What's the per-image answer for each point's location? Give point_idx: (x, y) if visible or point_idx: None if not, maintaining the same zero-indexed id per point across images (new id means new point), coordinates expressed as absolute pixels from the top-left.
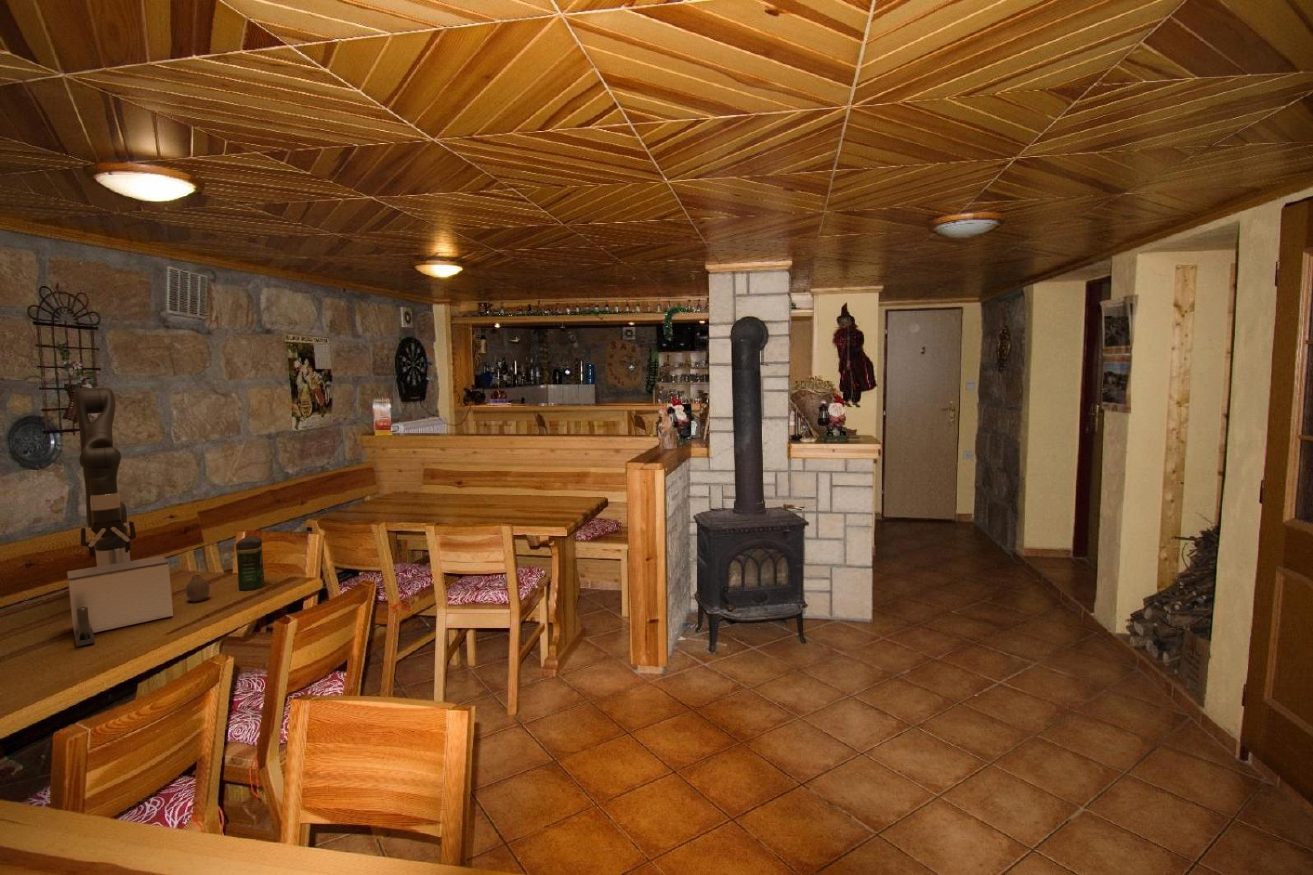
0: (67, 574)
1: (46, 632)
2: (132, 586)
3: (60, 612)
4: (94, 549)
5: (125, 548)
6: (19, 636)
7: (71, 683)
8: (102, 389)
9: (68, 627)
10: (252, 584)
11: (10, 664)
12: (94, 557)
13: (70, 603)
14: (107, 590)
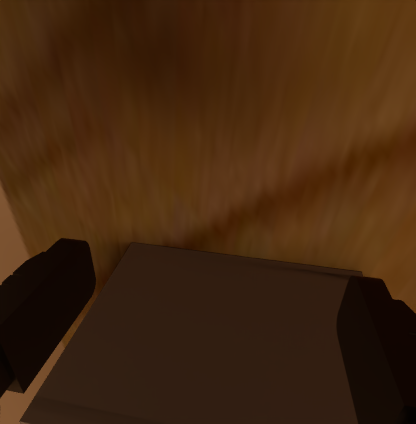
0: (30, 409)
1: (79, 229)
2: None
3: (72, 18)
4: (44, 360)
5: (347, 369)
6: (26, 211)
7: None
8: None
9: (121, 231)
10: None
11: (64, 347)
12: (87, 288)
13: (98, 297)
14: None
